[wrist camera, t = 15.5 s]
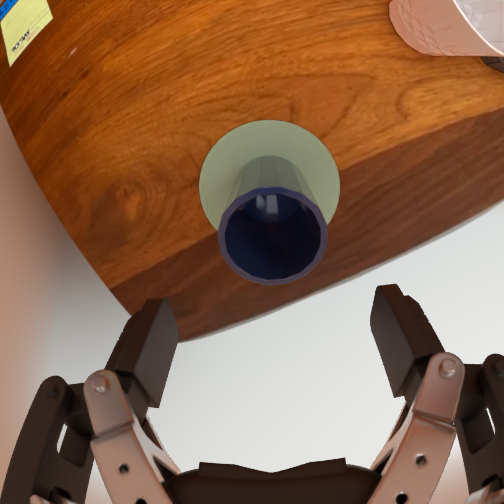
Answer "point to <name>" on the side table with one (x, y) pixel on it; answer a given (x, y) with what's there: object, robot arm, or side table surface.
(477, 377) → the robot arm
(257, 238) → the tumbler
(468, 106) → the side table surface
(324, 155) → the mat
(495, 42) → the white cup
